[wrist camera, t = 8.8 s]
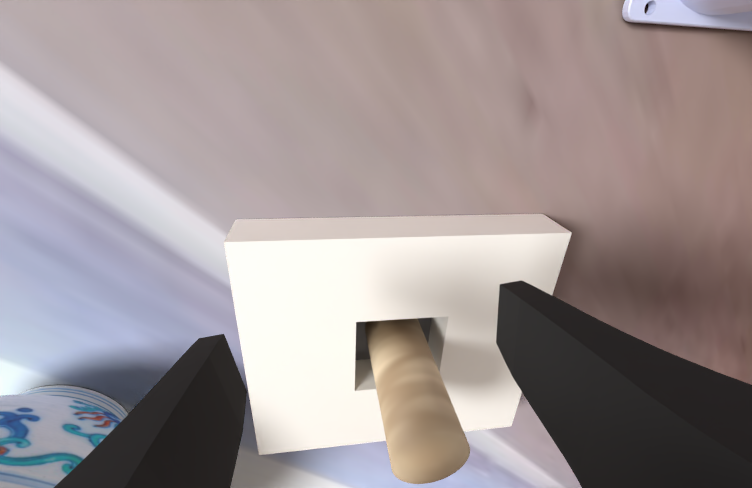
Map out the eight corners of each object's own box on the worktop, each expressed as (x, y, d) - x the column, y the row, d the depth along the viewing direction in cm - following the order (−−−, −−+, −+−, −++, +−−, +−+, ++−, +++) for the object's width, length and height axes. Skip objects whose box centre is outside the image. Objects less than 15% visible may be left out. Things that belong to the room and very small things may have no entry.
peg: (405, 296, 20) (455, 421, 13) (425, 333, 22) (479, 463, 15) (356, 319, 20) (378, 455, 13) (378, 355, 22) (409, 493, 15)
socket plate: (542, 213, 19) (571, 232, 17) (494, 395, 26) (511, 426, 23) (235, 219, 17) (223, 242, 15) (264, 418, 23) (258, 455, 21)
